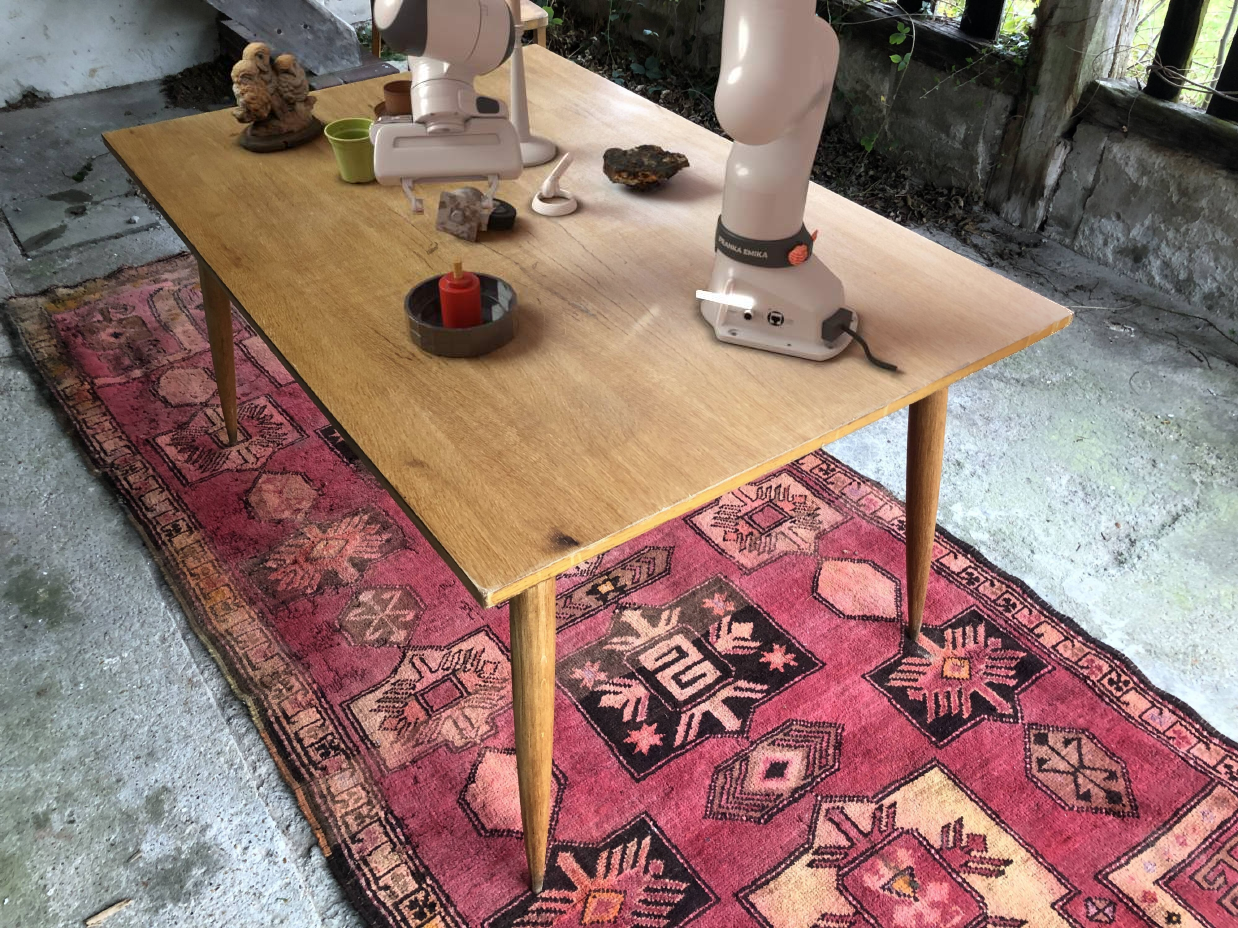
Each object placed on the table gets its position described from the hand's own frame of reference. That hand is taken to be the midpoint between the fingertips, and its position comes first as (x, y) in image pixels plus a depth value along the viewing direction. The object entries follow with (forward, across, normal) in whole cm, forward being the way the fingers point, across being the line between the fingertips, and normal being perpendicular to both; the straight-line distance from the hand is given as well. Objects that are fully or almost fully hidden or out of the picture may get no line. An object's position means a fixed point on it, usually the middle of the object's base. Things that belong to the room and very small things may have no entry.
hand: (453, 212), depth 134 cm
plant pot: (-20, -16, +40) cm, 48 cm away
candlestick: (-26, +13, +45) cm, 53 cm away
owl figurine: (-34, -32, +53) cm, 71 cm away
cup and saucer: (-38, -8, +58) cm, 70 cm away
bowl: (+16, 0, +3) cm, 16 cm away
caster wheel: (-5, +4, +25) cm, 26 cm away
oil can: (+15, 0, +2) cm, 16 cm away
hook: (-10, +17, +29) cm, 35 cm away
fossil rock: (-15, +34, +34) cm, 50 cm away
